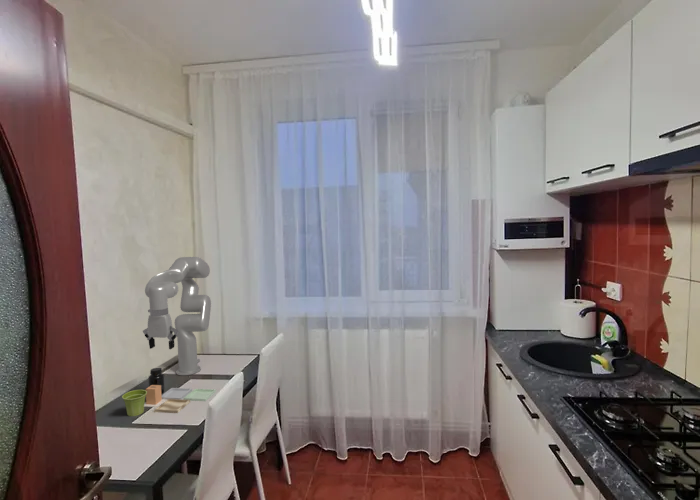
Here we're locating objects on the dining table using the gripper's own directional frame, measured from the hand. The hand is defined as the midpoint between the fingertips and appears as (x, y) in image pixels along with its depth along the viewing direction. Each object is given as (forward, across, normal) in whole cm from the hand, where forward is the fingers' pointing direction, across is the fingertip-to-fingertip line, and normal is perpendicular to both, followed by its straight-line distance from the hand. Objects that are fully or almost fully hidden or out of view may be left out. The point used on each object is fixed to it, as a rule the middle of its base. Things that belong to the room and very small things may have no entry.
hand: (162, 348), depth 189 cm
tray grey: (+23, +5, 0) cm, 24 cm away
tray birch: (+22, +11, -12) cm, 28 cm away
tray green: (+23, +17, 0) cm, 29 cm away
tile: (+23, 0, -9) cm, 24 cm away
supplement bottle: (+24, -5, +1) cm, 24 cm away
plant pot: (+22, -2, -19) cm, 29 cm away
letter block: (+22, 0, -9) cm, 24 cm away
